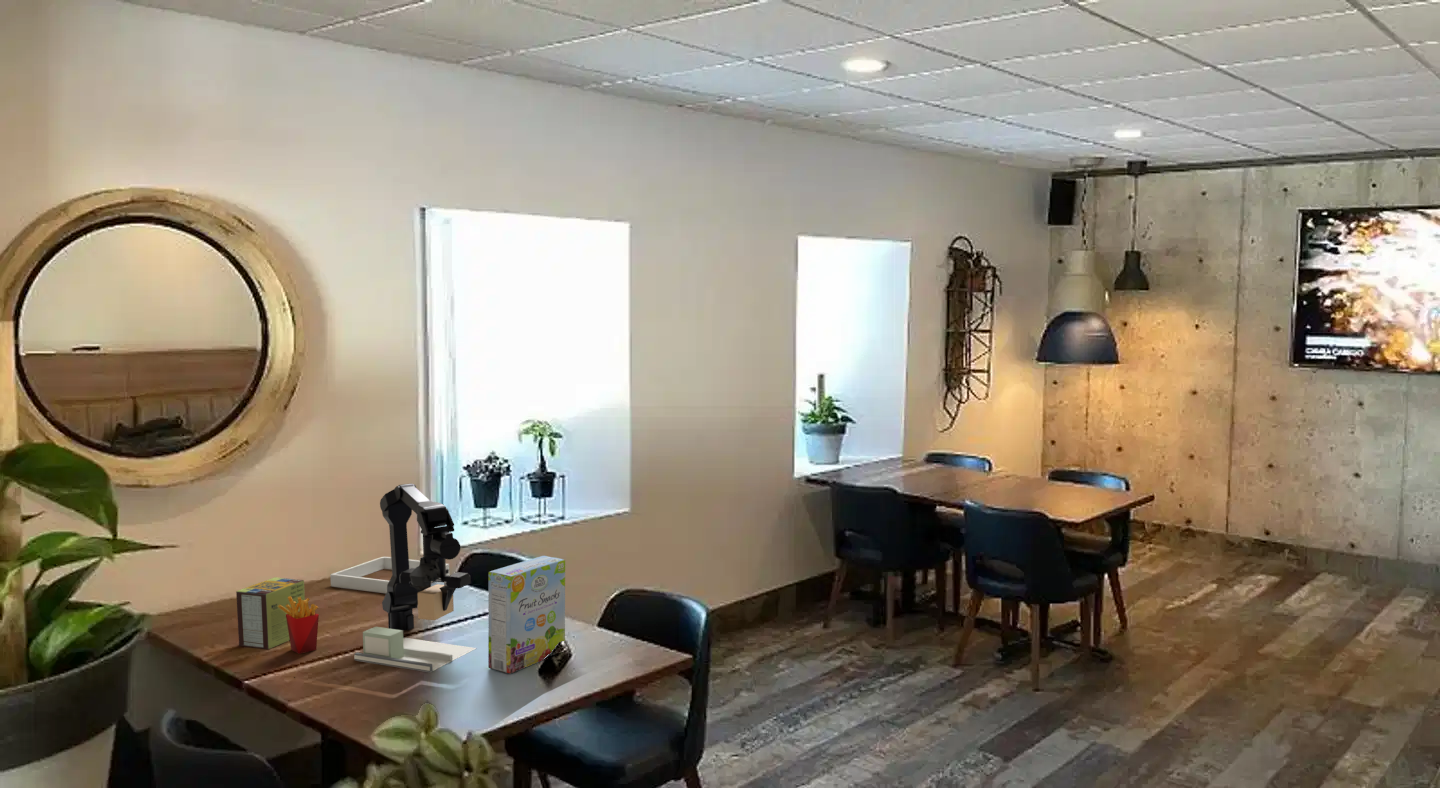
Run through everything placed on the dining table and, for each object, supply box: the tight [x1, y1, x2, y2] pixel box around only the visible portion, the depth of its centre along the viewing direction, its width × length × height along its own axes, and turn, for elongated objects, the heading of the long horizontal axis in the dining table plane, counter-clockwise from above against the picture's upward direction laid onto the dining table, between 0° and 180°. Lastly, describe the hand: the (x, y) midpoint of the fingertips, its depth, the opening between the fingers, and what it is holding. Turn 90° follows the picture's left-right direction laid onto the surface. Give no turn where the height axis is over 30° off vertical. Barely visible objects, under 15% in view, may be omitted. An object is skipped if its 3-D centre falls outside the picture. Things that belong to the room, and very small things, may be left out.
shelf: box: [353, 637, 477, 673], centre depth 291 cm, size 24×20×3 cm
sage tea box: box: [362, 626, 404, 659], centre depth 288 cm, size 9×5×7 cm, turn 67°
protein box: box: [235, 576, 306, 650], centre depth 305 cm, size 10×15×16 cm
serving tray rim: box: [329, 556, 451, 594], centre depth 367 cm, size 28×26×4 cm
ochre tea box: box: [417, 584, 455, 621], centre depth 293 cm, size 9×5×7 cm, turn 161°
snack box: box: [487, 555, 566, 675], centre depth 286 cm, size 22×9×26 cm, turn 148°
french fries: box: [278, 596, 320, 655], centre depth 295 cm, size 9×8×15 cm
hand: (436, 609), depth 293 cm, fingers closed on ochre tea box, 5 cm apart
